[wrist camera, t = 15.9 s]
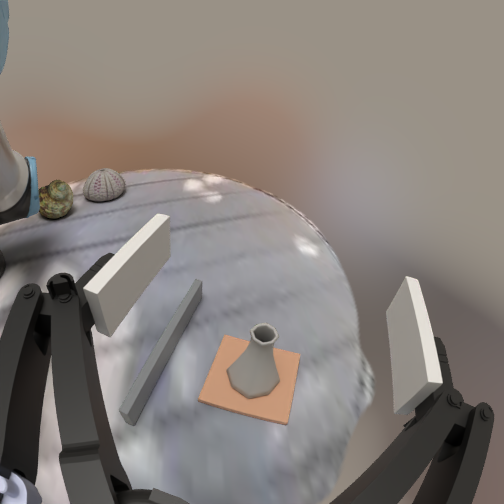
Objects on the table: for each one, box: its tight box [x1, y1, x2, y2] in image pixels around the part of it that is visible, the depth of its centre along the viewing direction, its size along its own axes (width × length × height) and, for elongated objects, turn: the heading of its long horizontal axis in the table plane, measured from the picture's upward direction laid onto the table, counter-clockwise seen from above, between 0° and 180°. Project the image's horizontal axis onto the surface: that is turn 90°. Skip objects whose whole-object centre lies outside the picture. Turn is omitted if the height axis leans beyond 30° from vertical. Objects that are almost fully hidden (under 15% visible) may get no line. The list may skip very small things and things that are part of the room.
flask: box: [226, 323, 280, 399], centre depth 36 cm, size 7×7×10 cm
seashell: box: [38, 180, 73, 218], centre depth 65 cm, size 11×11×10 cm
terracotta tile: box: [198, 335, 300, 425], centre depth 39 cm, size 12×12×1 cm
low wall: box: [119, 279, 202, 426], centre depth 40 cm, size 26×1×4 cm, turn 166°
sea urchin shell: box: [83, 168, 126, 202], centre depth 77 cm, size 13×14×8 cm
